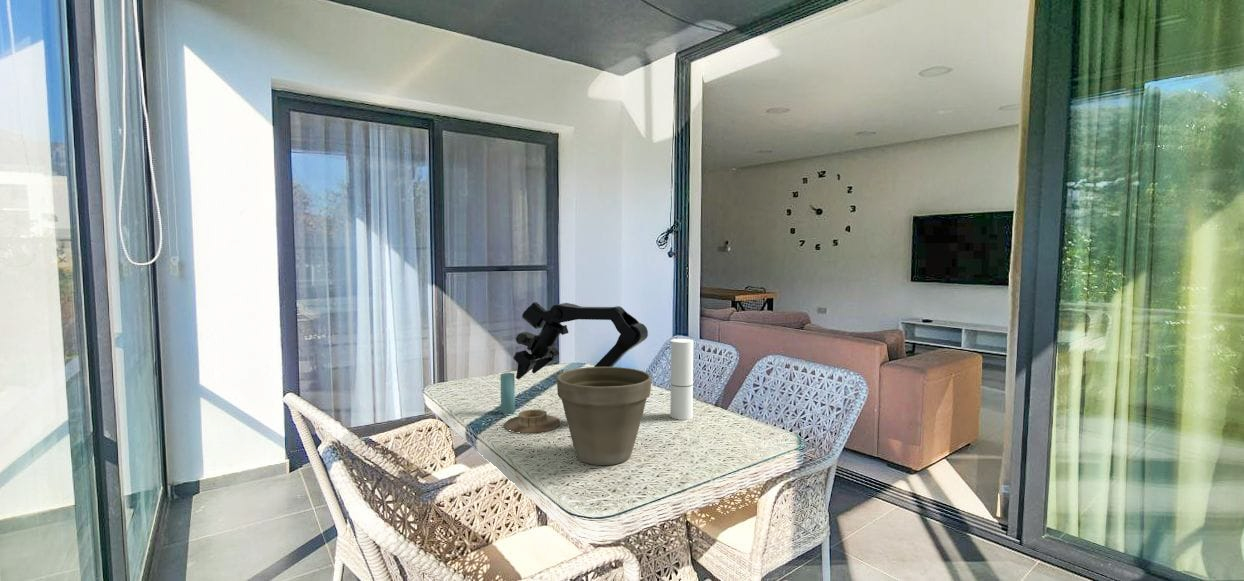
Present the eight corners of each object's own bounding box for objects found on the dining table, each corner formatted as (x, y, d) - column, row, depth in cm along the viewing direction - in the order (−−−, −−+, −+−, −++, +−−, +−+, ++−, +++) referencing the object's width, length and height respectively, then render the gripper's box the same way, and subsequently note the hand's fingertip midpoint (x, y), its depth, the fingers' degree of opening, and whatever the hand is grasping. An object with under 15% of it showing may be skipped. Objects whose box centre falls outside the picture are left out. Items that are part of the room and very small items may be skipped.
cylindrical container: (692, 413, 187) (693, 338, 185) (692, 420, 180) (693, 342, 177) (670, 412, 187) (671, 338, 185) (670, 419, 180) (670, 342, 178)
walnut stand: (570, 420, 180) (570, 409, 180) (542, 436, 164) (542, 425, 164) (524, 413, 187) (524, 403, 186) (493, 429, 171) (493, 418, 171)
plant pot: (600, 433, 168) (600, 361, 166) (669, 452, 152) (669, 373, 150) (537, 457, 149) (536, 376, 147) (608, 483, 133) (608, 392, 131)
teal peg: (517, 411, 188) (517, 373, 187) (509, 415, 184) (509, 376, 183) (506, 410, 190) (505, 372, 189) (498, 414, 186) (497, 375, 185)
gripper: (544, 318, 190) (523, 355, 194) (512, 326, 173) (490, 366, 177) (568, 338, 187) (547, 375, 191) (539, 348, 170) (515, 388, 174)
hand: (525, 375), depth 183 cm, fingers open, 9 cm apart
